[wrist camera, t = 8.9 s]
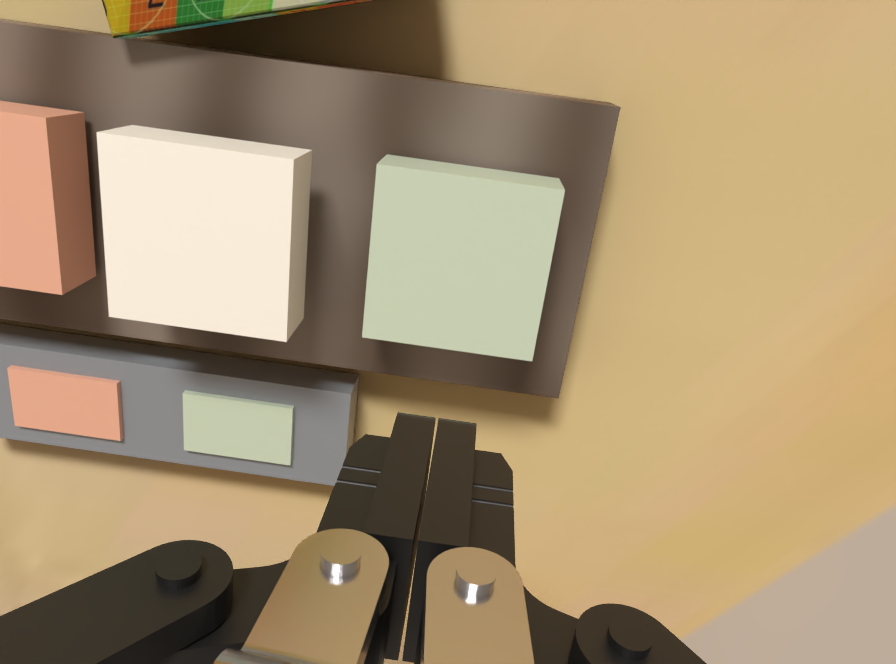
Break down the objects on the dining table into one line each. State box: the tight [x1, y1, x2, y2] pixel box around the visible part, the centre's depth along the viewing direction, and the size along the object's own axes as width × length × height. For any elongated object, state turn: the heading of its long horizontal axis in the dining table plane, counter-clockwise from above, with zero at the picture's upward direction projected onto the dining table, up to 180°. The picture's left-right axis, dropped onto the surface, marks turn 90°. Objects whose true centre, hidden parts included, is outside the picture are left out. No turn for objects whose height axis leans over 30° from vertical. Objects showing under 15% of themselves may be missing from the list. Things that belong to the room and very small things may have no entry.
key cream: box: [96, 125, 312, 342], centre depth 25 cm, size 6×6×2 cm
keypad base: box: [0, 19, 620, 398], centre depth 28 cm, size 28×12×2 cm, turn 83°
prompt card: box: [0, 324, 359, 486], centre depth 32 cm, size 18×5×2 cm, turn 83°
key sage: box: [362, 154, 565, 361], centre depth 26 cm, size 6×6×2 cm
